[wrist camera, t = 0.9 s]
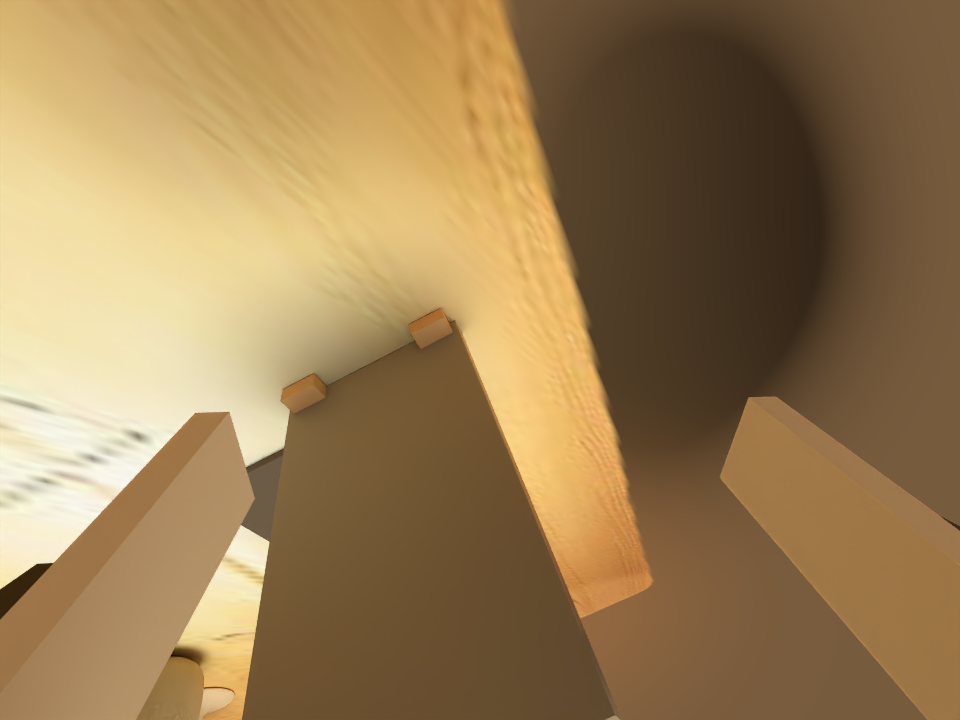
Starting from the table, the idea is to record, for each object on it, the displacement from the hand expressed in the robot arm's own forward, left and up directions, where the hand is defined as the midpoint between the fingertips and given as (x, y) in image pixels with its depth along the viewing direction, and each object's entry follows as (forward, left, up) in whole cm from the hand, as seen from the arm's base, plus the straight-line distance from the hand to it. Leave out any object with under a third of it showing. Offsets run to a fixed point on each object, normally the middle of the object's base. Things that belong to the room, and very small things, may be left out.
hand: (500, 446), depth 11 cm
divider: (+11, -9, -23) cm, 27 cm away
